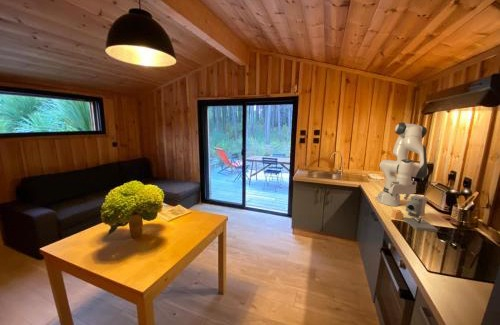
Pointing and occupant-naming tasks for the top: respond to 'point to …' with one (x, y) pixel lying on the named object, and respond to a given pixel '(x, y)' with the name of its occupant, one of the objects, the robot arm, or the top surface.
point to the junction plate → (420, 224)
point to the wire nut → (397, 215)
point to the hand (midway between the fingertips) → (400, 199)
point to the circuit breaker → (416, 206)
